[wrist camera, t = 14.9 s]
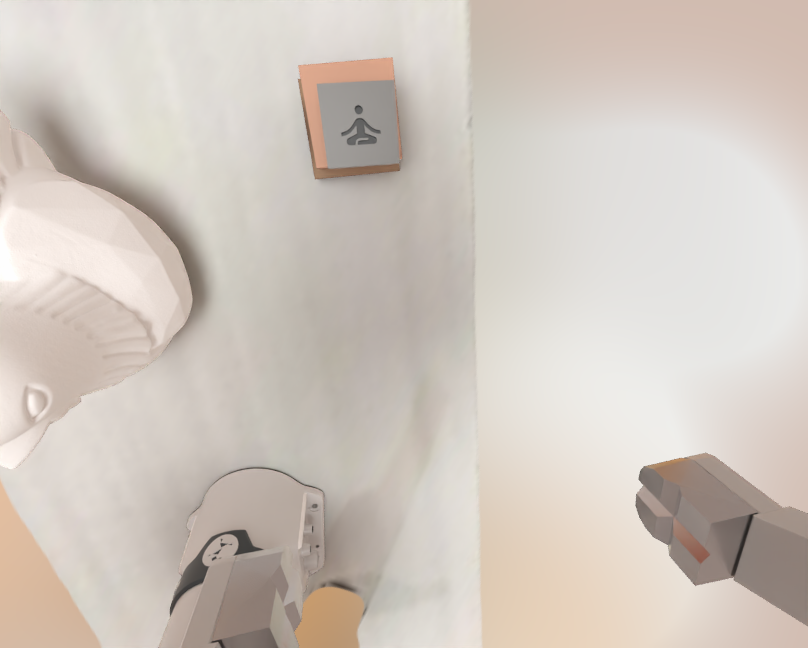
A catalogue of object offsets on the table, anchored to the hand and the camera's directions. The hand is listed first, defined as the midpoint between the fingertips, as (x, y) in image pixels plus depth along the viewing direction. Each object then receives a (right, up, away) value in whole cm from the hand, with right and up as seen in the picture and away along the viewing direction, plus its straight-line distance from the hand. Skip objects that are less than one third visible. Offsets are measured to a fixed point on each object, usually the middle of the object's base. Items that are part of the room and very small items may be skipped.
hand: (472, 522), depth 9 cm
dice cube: (-5, +20, +21) cm, 30 cm away
